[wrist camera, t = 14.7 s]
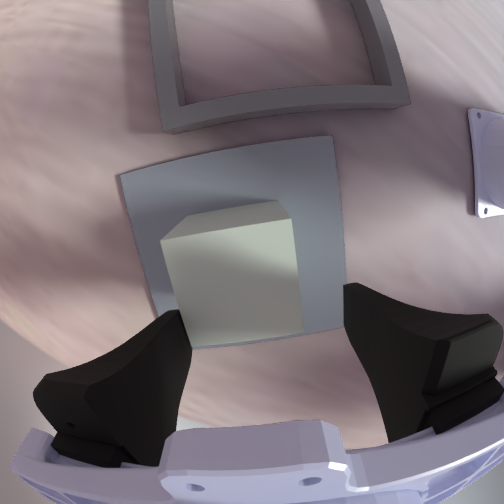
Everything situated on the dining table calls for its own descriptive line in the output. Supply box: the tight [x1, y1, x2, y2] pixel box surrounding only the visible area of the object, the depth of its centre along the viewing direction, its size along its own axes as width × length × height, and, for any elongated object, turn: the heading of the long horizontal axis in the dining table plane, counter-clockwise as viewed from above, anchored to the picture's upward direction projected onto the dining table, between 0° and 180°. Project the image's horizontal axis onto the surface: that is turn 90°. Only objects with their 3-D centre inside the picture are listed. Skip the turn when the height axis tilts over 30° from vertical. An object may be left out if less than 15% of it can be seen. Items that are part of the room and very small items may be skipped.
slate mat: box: [120, 135, 346, 350], centre depth 16 cm, size 12×12×1 cm
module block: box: [160, 200, 304, 347], centre depth 13 cm, size 5×5×5 cm
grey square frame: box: [148, 0, 411, 134], centre depth 11 cm, size 13×13×2 cm
